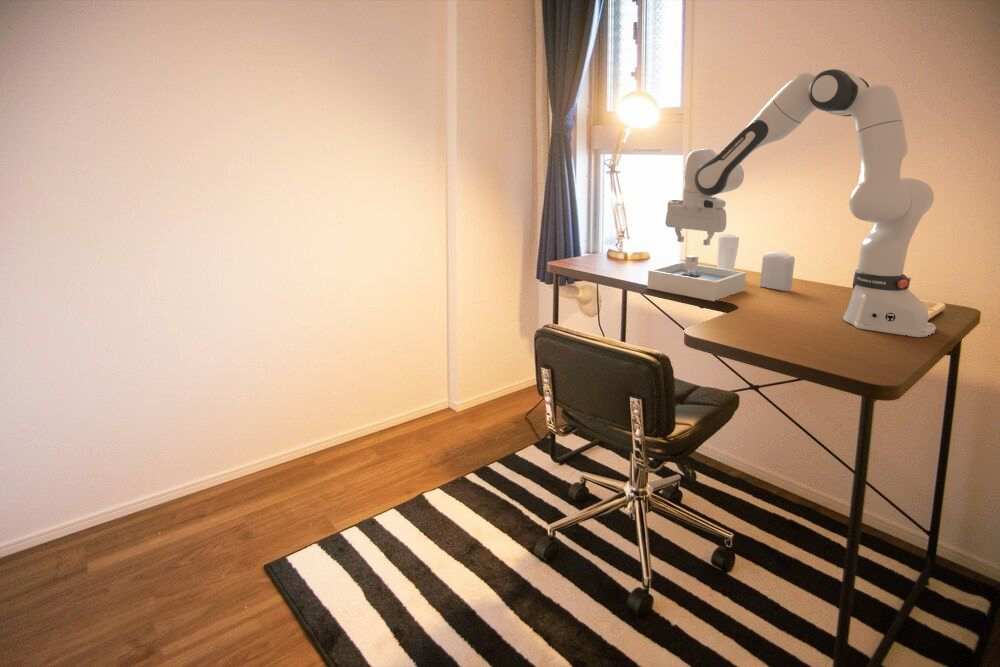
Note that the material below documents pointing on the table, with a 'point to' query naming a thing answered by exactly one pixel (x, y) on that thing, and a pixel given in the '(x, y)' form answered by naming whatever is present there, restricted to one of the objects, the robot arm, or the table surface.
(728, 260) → the drinking glass
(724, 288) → the box
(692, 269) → the peg
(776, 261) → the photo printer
